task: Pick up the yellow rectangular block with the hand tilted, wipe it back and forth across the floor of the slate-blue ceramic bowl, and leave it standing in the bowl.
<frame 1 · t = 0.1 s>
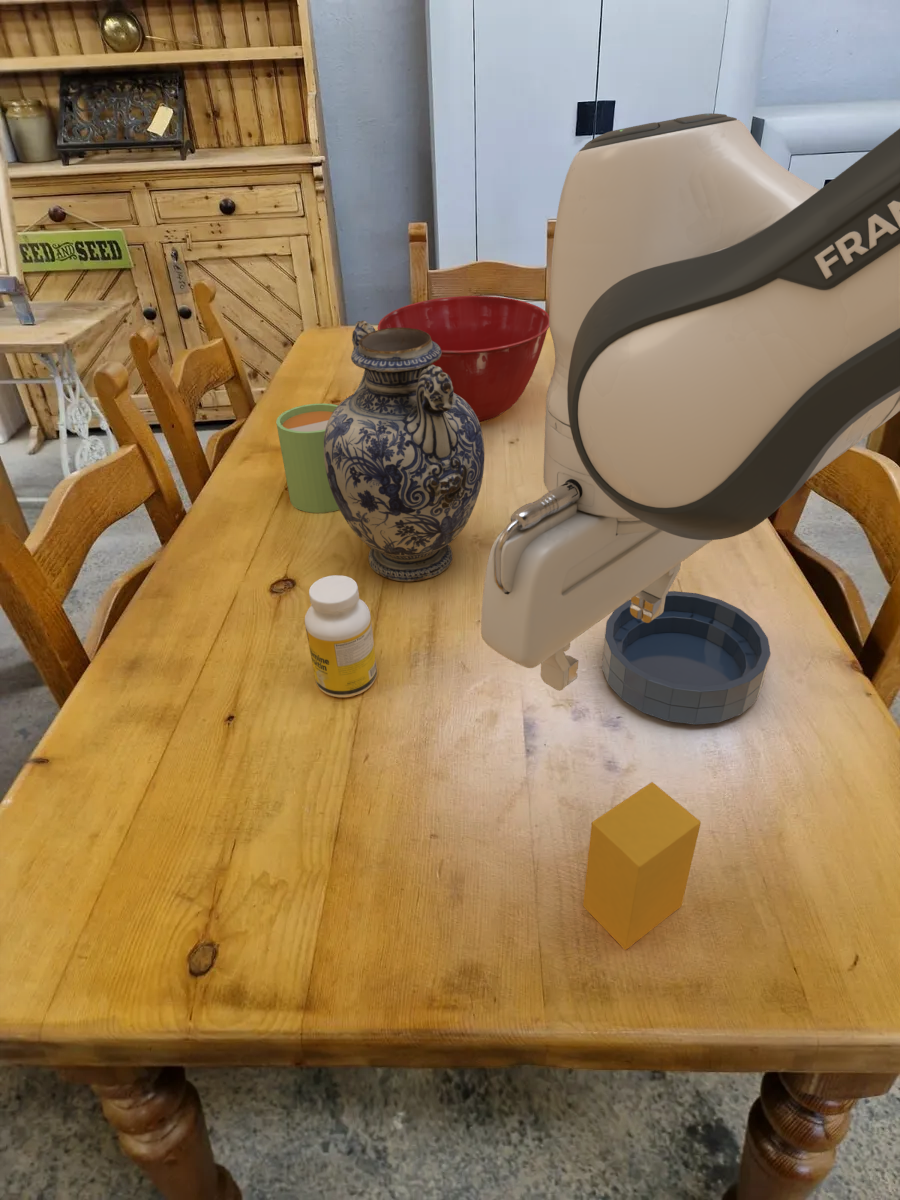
hand: (604, 646, 52), 21 cm above the table, tool pointing down, fingers open, 8 cm apart
mixing bowl: (465, 409, 139), on the table
pastry: (619, 496, 112), on the table
bowl: (679, 675, 81), on the table
yellow rectangular block: (632, 906, 60), on the table
mug: (323, 492, 116), on the table
decorative vase: (412, 560, 101), on the table
pill bottle: (347, 680, 82), on the table
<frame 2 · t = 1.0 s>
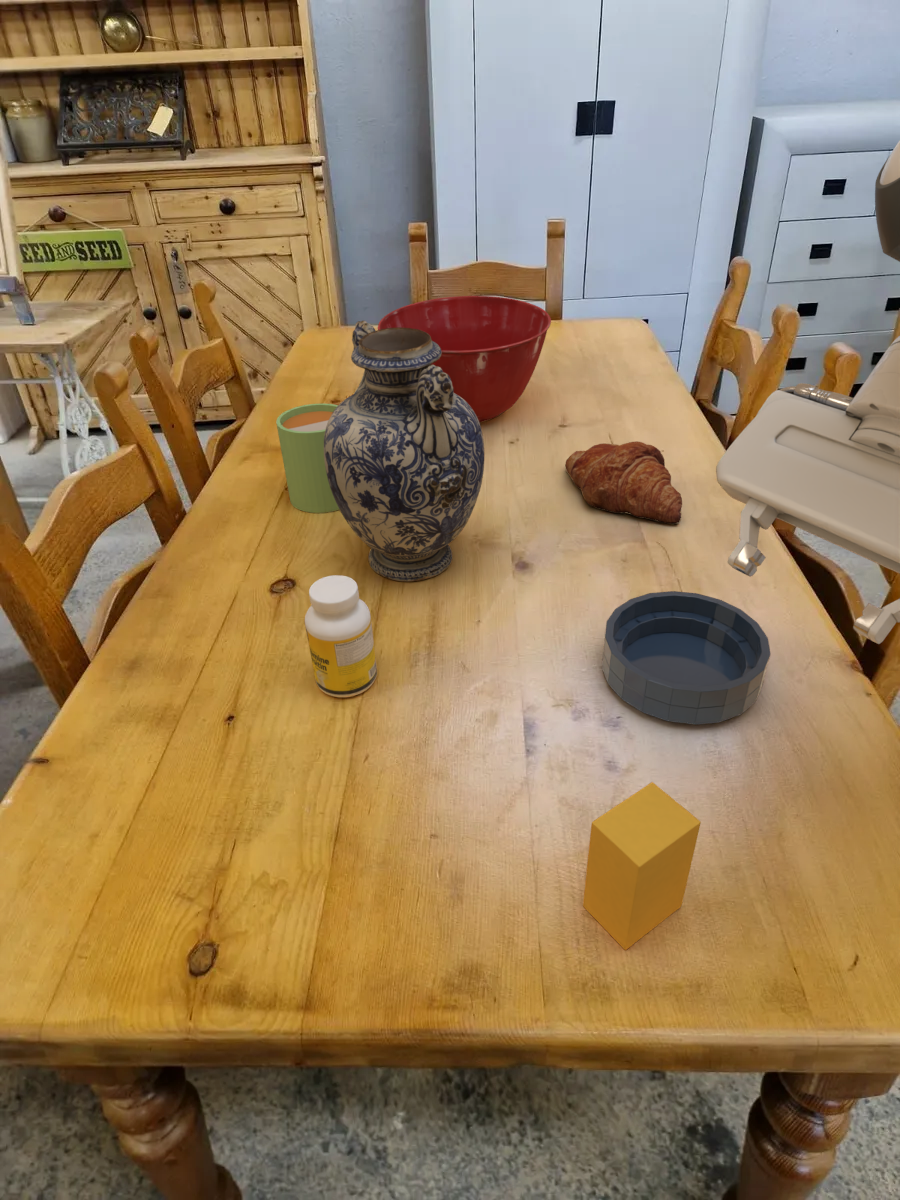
hand: (798, 601, 52), 23 cm above the table, tool tilted 45°, fingers open, 8 cm apart
nothing on the table moved.
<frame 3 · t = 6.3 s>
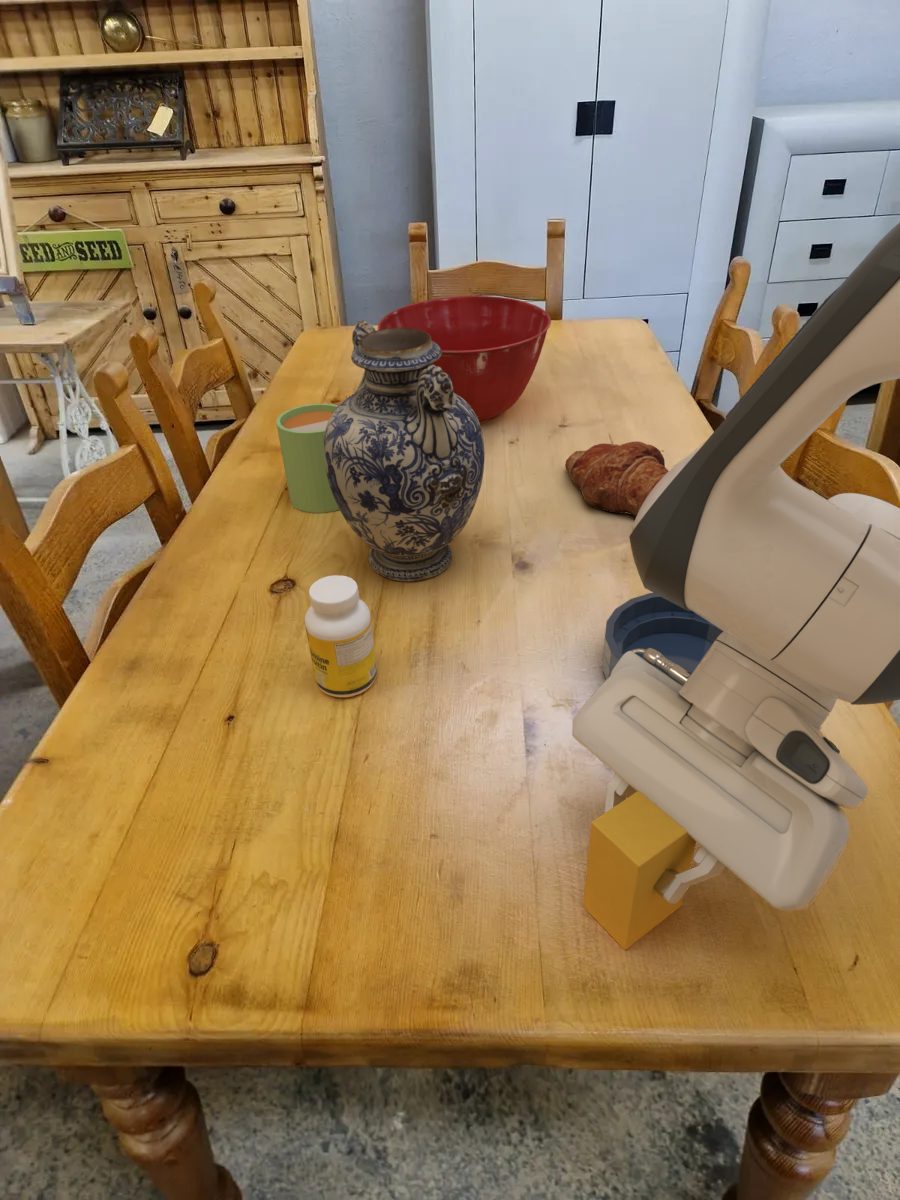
hand: (633, 867, 57), 5 cm above the table, tool tilted 45°, fingers closed on yellow rectangular block, 4 cm apart
yellow rectangular block: (631, 906, 60), on the table, touching gripper
everything else where it was.
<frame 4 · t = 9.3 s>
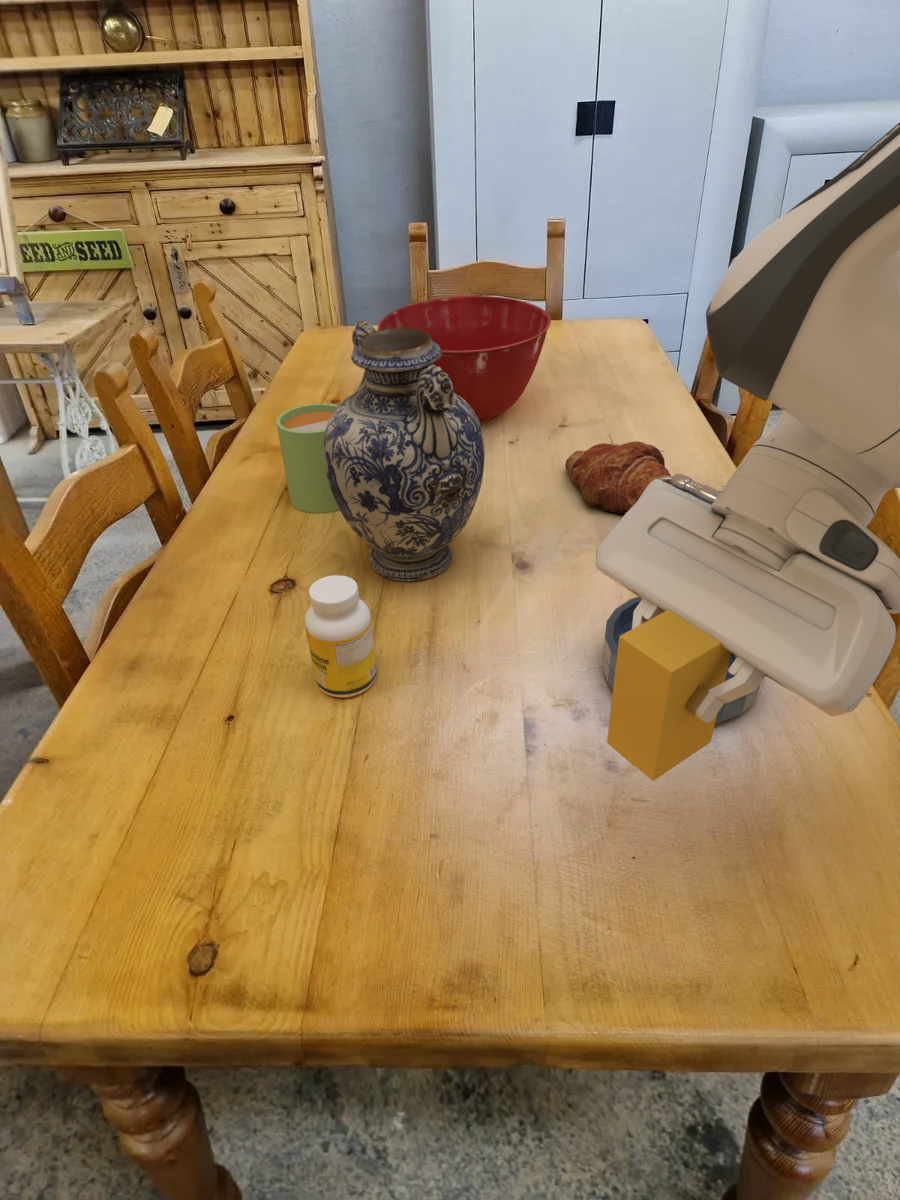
hand: (662, 691, 54), 18 cm above the table, tool tilted 45°, fingers closed on yellow rectangular block, 4 cm apart
yellow rectangular block: (658, 742, 57), point 12 cm above the table, touching gripper
everything else where it was.
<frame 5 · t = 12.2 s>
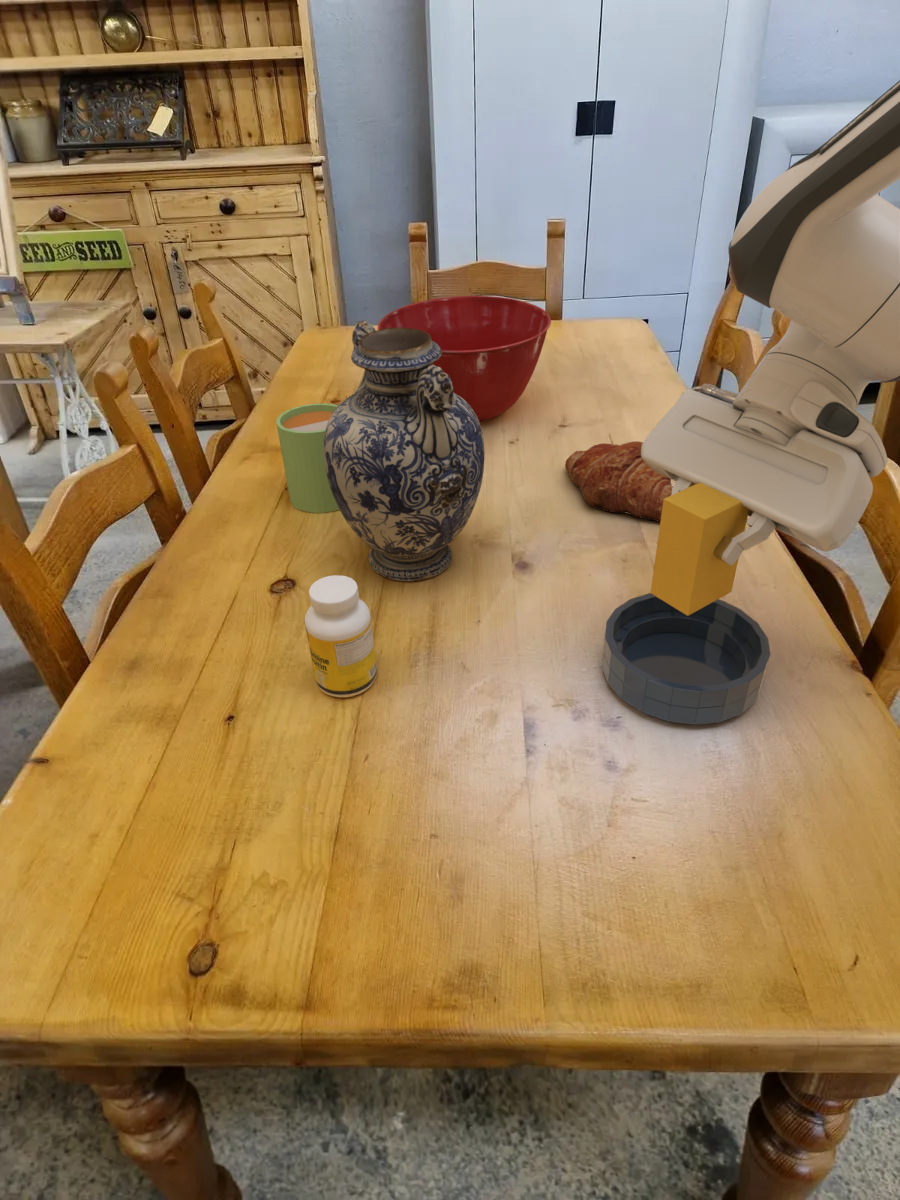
hand: (695, 546, 70), 17 cm above the table, tool tilted 45°, fingers closed on yellow rectangular block, 4 cm apart
yellow rectangular block: (690, 592, 73), point 11 cm above the table, touching gripper
everything else where it was.
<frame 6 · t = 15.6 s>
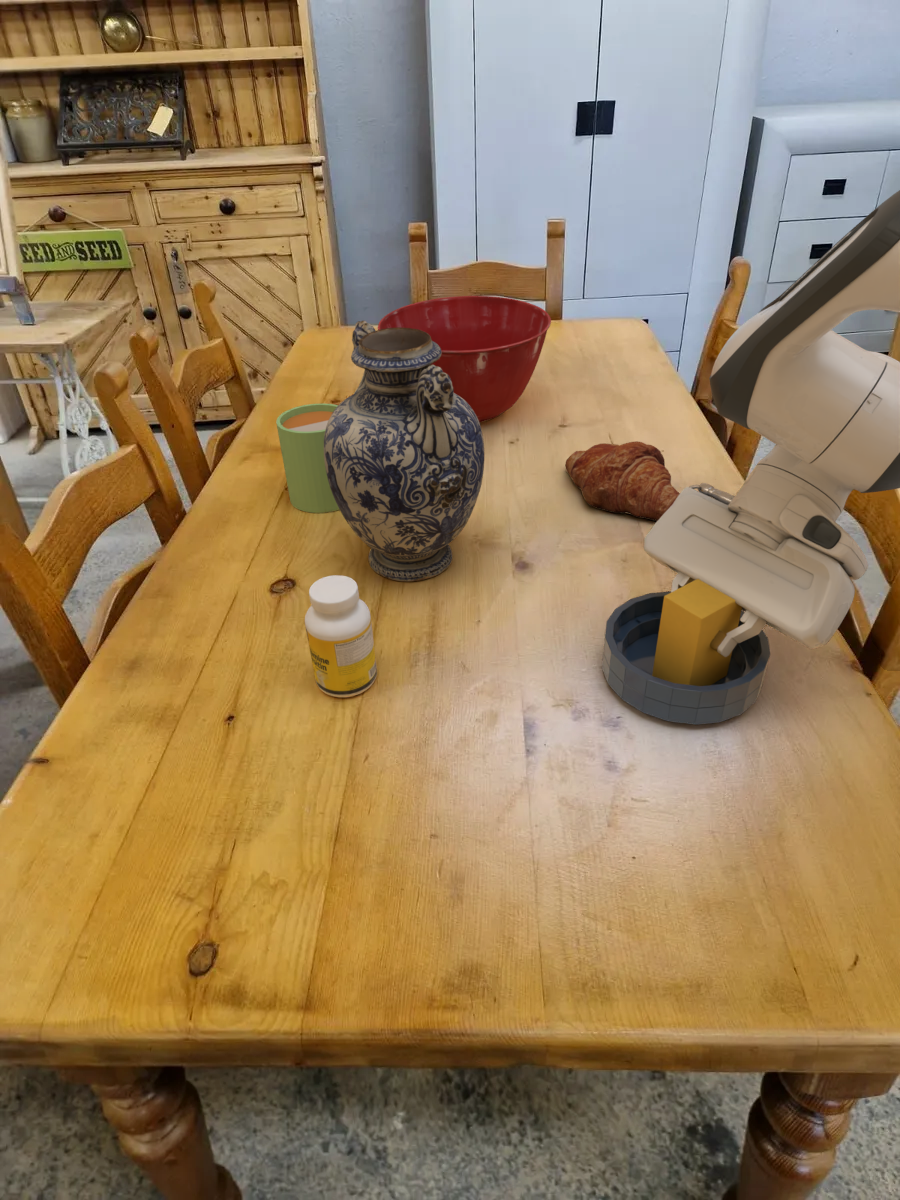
hand: (693, 636, 76), 6 cm above the table, tool tilted 45°, fingers closed on yellow rectangular block, 4 cm apart
yellow rectangular block: (689, 675, 80), point 1 cm above the table, touching gripper
everything else where it was.
when the fingers open (6 cm above the table, at t = 18.4 s): yellow rectangular block stays where it is, resting on bowl.
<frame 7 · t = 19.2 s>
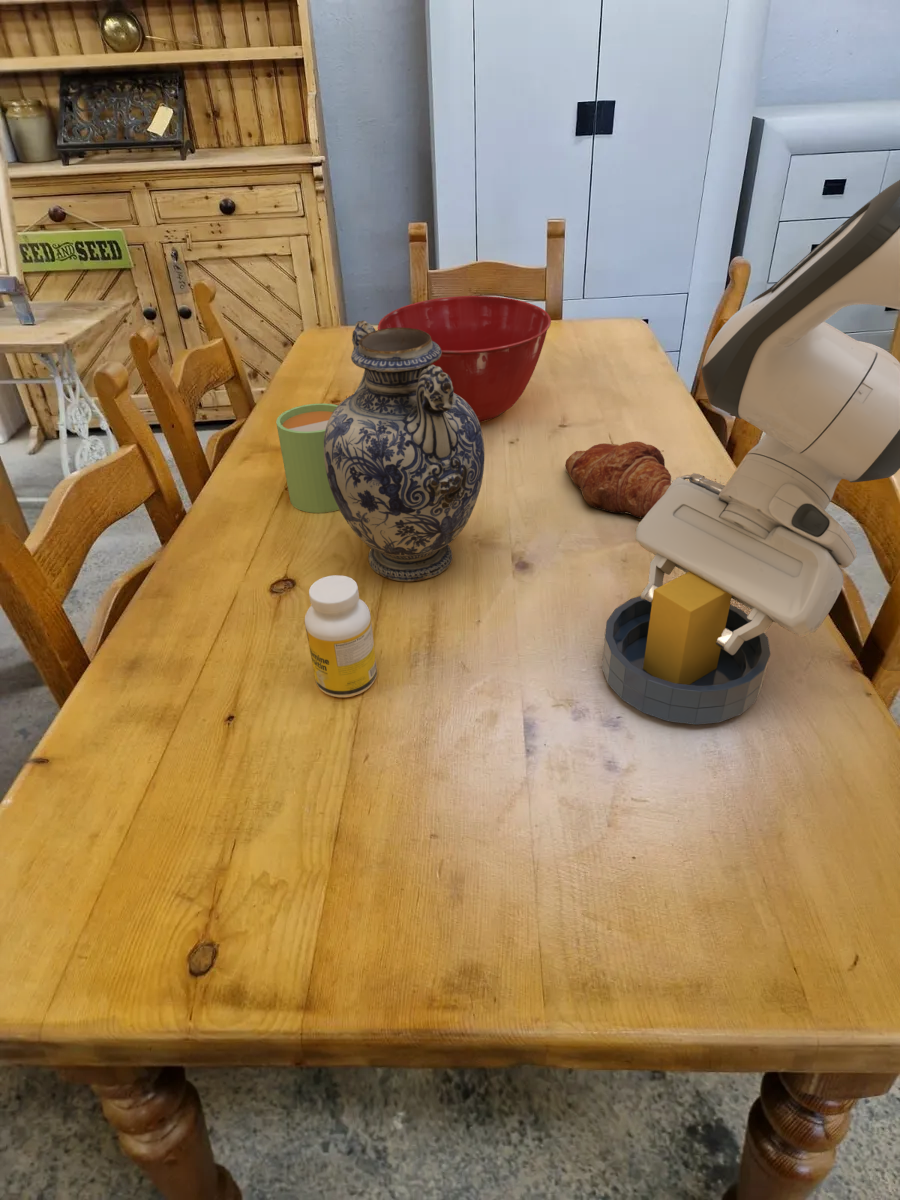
hand: (684, 625, 77), 7 cm above the table, tool tilted 45°, fingers open, 8 cm apart
bowl: (679, 675, 81), on the table, touching yellow rectangular block
yellow rectangular block: (679, 668, 80), point 1 cm above the table, touching bowl
everything else where it was.
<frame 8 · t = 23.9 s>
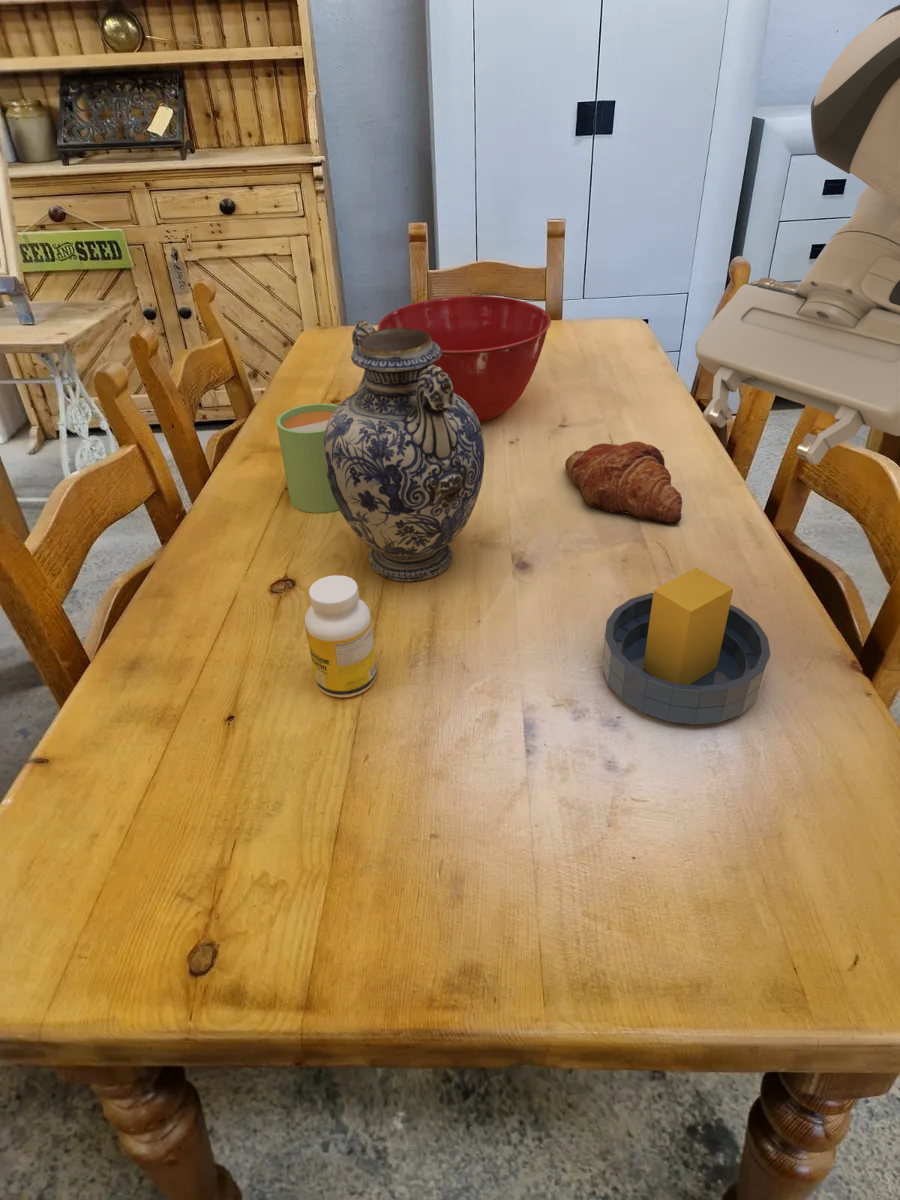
hand: (756, 440, 67), 25 cm above the table, tool tilted 45°, fingers open, 8 cm apart
nothing on the table moved.
at the end: yellow rectangular block inside the target area in the bowl (0.1 cm from its centre), point 0.8 cm above the bowl's base; bowl moved 0.0 cm from its start; the gripper is holding nothing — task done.
